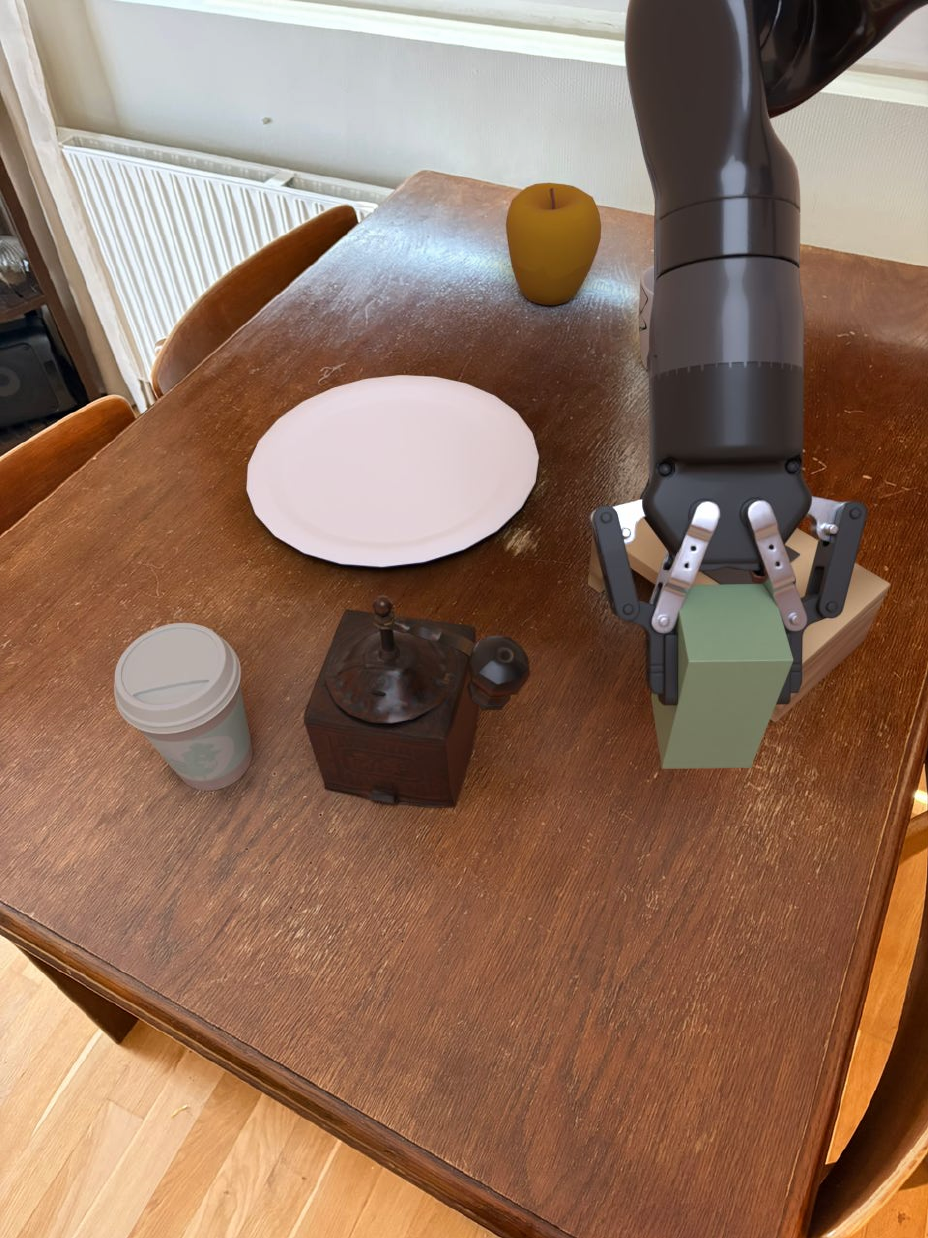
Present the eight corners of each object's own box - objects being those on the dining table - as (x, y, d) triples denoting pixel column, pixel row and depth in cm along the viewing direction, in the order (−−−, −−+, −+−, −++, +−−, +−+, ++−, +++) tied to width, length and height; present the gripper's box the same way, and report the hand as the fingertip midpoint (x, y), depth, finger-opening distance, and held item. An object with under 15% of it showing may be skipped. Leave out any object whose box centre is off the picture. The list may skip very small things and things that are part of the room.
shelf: (864, 640, 74) (892, 581, 69) (775, 723, 69) (797, 667, 64) (676, 519, 84) (687, 460, 79) (587, 584, 79) (592, 525, 74)
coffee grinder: (317, 797, 67) (266, 648, 53) (357, 679, 74) (322, 520, 60) (523, 831, 64) (525, 684, 51) (545, 706, 71) (552, 546, 57)
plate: (578, 539, 83) (579, 526, 82) (265, 607, 79) (261, 594, 78) (494, 366, 102) (493, 352, 100) (237, 414, 98) (233, 401, 97)
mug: (717, 400, 96) (735, 316, 88) (638, 402, 96) (648, 318, 88) (701, 340, 103) (716, 257, 95) (627, 342, 103) (636, 260, 96)
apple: (607, 280, 113) (616, 175, 103) (576, 324, 106) (582, 217, 97) (526, 265, 116) (527, 162, 106) (492, 307, 110) (489, 201, 100)
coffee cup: (138, 788, 68) (79, 697, 59) (197, 701, 73) (151, 604, 64) (236, 822, 66) (191, 732, 57) (290, 729, 71) (256, 633, 62)
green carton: (734, 695, 54) (772, 583, 46) (751, 768, 50) (794, 660, 43) (650, 696, 54) (674, 584, 46) (661, 769, 51) (688, 661, 43)
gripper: (589, 358, 42) (592, 718, 43) (902, 350, 41) (894, 715, 43) (575, 386, 49) (578, 692, 51) (840, 380, 49) (835, 689, 50)
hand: (722, 701), depth 47 cm, fingers closed on green carton, 5 cm apart
